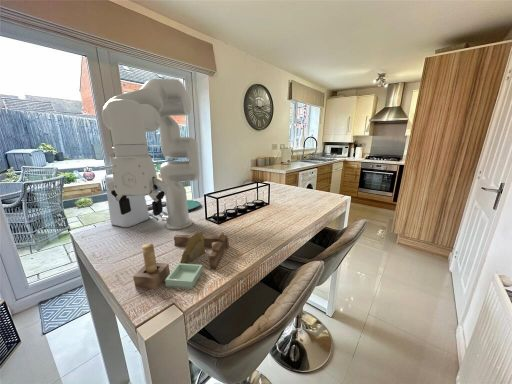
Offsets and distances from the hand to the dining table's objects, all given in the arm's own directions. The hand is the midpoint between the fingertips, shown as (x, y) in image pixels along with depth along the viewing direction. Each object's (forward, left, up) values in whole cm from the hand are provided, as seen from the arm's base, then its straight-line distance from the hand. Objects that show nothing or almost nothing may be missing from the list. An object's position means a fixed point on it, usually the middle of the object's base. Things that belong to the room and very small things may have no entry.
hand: (142, 213), depth 59 cm
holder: (0, 0, -22) cm, 22 cm away
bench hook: (+7, +15, -22) cm, 28 cm away
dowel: (0, 0, -22) cm, 22 cm away
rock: (+7, +14, -23) cm, 27 cm away
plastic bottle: (-40, +43, -22) cm, 63 cm away
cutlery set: (-25, +62, -23) cm, 71 cm away
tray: (+9, +2, -22) cm, 24 cm away
